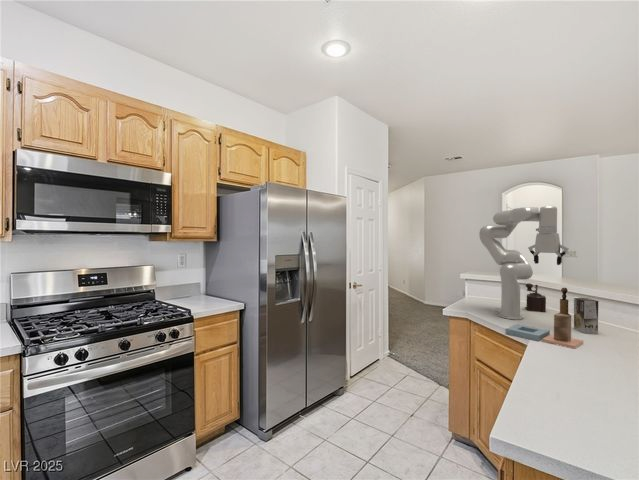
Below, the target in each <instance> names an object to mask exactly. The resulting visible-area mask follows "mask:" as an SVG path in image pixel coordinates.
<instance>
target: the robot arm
mask: <svg viewBox="0 0 639 480" xmlns="http://www.w3.org/2000/svg"><path fill="white" fill-rule="evenodd" d="M492 220H493V222H494V223H495V224H489V225H488V224H487V225H484V226H482V227H481V228H480V229H479V234H478V236H479V239H480V242H481V244H482V245H483V246H484V247H485V248H486V249H487V251H488V253H489V255H490V256H491V257H492V259H493V261H494V262H495V264H496V265H498V266H500V268H499V275H500V281H501V282H500V283H501V294H500V295H501V302H500V304H501V307H500V308H499V307H494V312H498V317H499V318H502V319H506V320H519V321H520V320H523V319H524V316H523V315H522V314H521V286H520V284H519V282H518V280H519V281H520V280H522V281H523V280H529V279H531V278H532V276H533V275H534V274H533V273H534V272H533V271H534V270H533V268H532V266H531V264H530V263H529V261H527V259H526V258H525V257H524V254H522V253H521V252H520V251H518V250H515V249H506V248H505V247H504V245H503V244H502V243H501V242H500V241H499V240H497V239H507V238H509V236H510V235H511V234H512V232H513V231H514V229H516V227H517V226H518V224H520V223H521V222H538V228H535V231H536V232H537V233H536V236H535V241H534V242H535V243H534V244H533V245H531V246H528V248H527V249H528V251H529V252H530V254H531V255H532V256H533V262H534V264H536V265H537V264H539V263H540V261H539V260H540V259H539V254H540V253H542V254H545V253H547V254H549V253H550V254H556V255H557V256H556V265H557V266H560V265H561V264H562V263H563V262H562V261H563V257H564V256H565V255H566V254H567V253H568V251H569V249H570V248H569V247H566V246H564V245H562V244H561V240H560V239H561V238H560V234H559V233H558V208H557V206H554V205H548V206H541V207H537V206H536V207H534V206H532V207H531V206H530V207H529V206H525V207H518V208H517V207H516V208H512V209H510V210H504V211H503V210H502V211H498V212H496V213H495V214H494V215H493V217H492ZM562 249H563V250H562ZM561 250H562V252H561Z"/></svg>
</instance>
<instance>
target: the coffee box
mask: <svg viewBox="0 0 639 480" xmlns="http://www.w3.org/2000/svg"><path fill="white" fill-rule="evenodd" d="M599 302H600V301H599V300H595V299H592V298H588V297H573V329H574V330H576V331H578V332H581V333H583V334H590V335H591V334H593V335H598V334H599Z"/></svg>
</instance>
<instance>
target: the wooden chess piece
mask: <svg viewBox="0 0 639 480" xmlns="http://www.w3.org/2000/svg"><path fill="white" fill-rule="evenodd" d="M560 289H561V293H562V294H561V298H559V313H560V314H566V315H571V314H570V313H569V299H567V297H568V296H567V295H566V294H567V293H568V288H567V287H561V288H560Z"/></svg>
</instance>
